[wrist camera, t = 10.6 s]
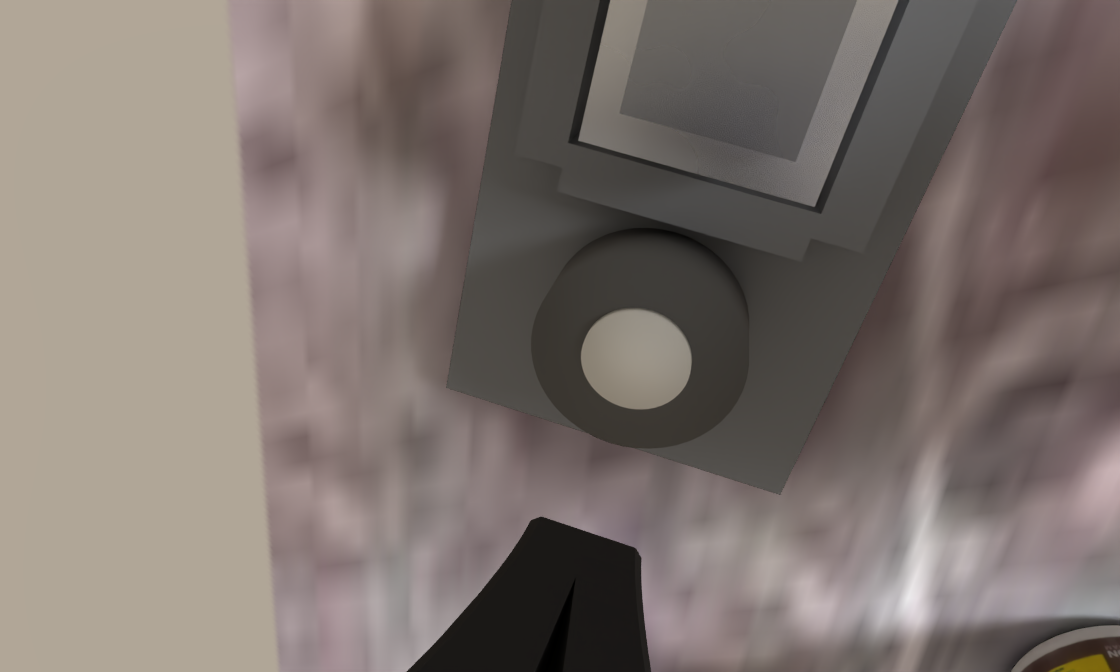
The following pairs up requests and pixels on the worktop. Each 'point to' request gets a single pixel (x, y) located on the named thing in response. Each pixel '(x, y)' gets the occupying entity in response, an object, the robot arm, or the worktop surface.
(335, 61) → the worktop surface
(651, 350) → the wheel
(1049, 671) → the supplement bottle
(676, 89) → the grey rectangular block
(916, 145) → the chassis
